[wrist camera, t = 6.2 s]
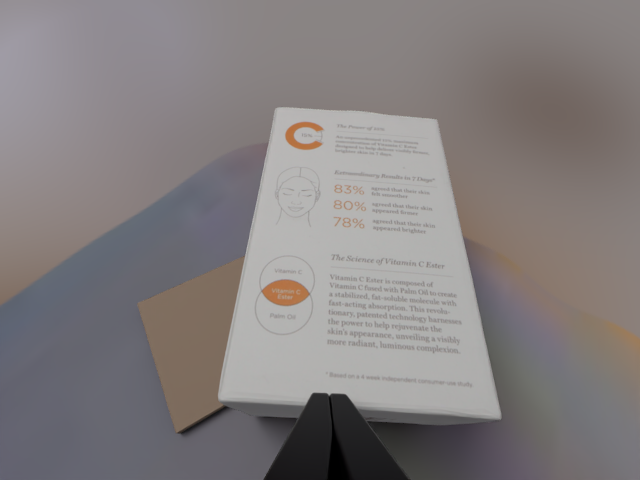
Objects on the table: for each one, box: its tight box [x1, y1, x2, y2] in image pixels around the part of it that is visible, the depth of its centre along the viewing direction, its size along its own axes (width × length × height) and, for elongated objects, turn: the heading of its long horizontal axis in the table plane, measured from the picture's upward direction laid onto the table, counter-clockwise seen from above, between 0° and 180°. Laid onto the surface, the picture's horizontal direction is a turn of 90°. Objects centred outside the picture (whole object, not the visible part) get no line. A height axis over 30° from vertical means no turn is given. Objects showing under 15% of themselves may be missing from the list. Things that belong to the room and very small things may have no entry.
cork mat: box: [137, 256, 245, 433], centre depth 17 cm, size 6×12×1 cm, turn 120°
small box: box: [218, 107, 502, 425], centre depth 15 cm, size 8×6×13 cm
